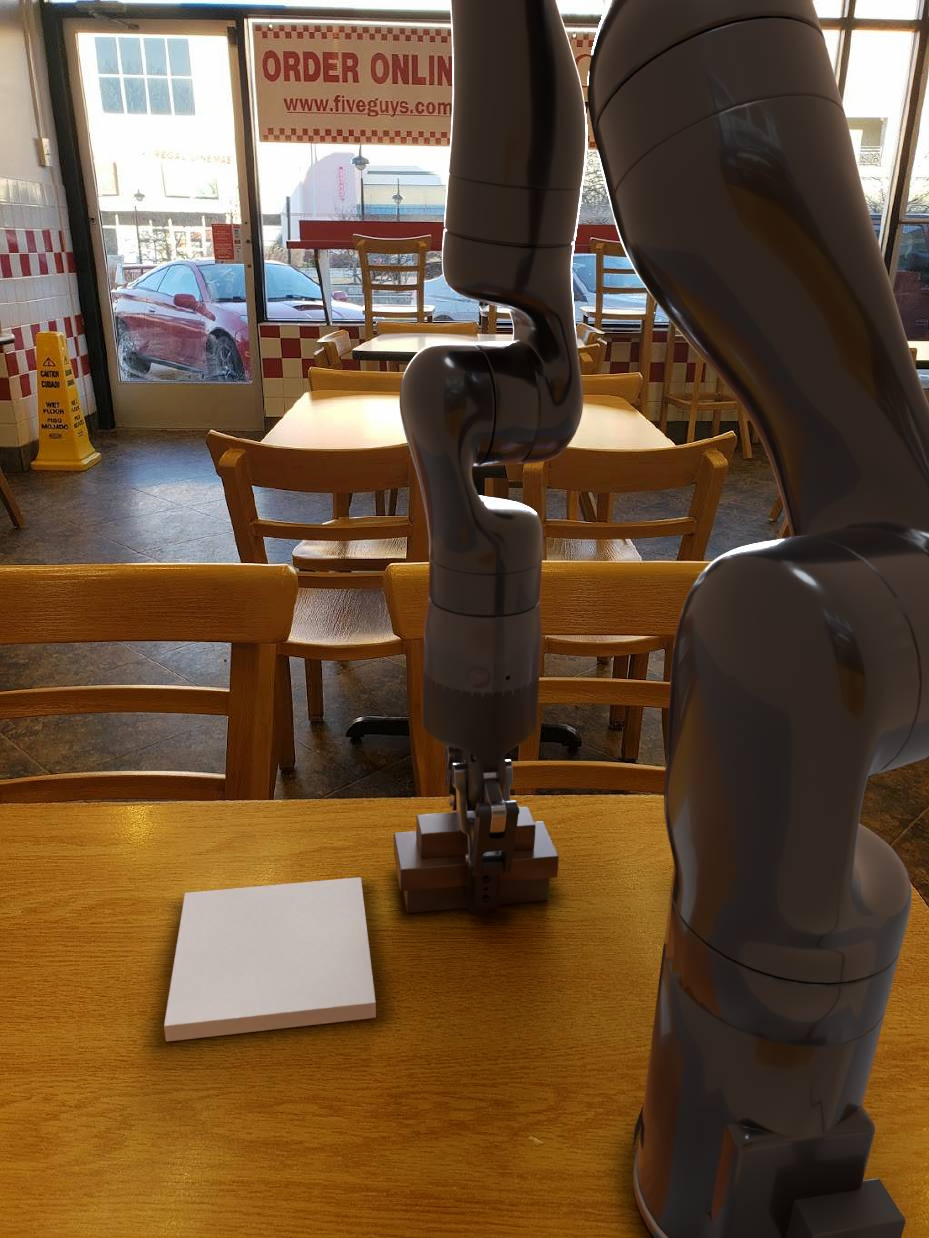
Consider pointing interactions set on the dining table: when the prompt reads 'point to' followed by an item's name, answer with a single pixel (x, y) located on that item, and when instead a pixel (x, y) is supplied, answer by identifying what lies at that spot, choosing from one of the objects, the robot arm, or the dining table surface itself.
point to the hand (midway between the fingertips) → (474, 879)
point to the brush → (439, 865)
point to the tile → (270, 959)
